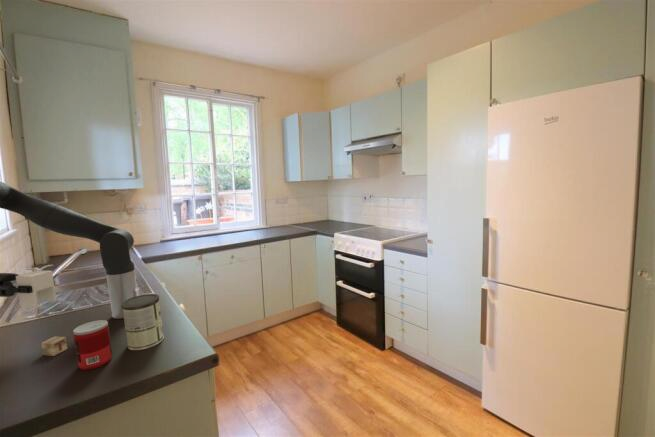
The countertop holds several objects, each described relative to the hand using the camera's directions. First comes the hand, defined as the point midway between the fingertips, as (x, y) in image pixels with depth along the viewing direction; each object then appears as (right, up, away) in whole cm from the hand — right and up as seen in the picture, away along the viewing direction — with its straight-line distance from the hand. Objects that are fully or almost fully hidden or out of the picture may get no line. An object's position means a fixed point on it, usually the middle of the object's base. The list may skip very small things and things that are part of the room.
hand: (42, 285), depth 99 cm
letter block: (+6, -20, -2) cm, 21 cm away
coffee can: (+32, -19, +2) cm, 37 cm away
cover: (-2, -6, +1) cm, 6 cm away
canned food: (+24, -20, -9) cm, 32 cm away
